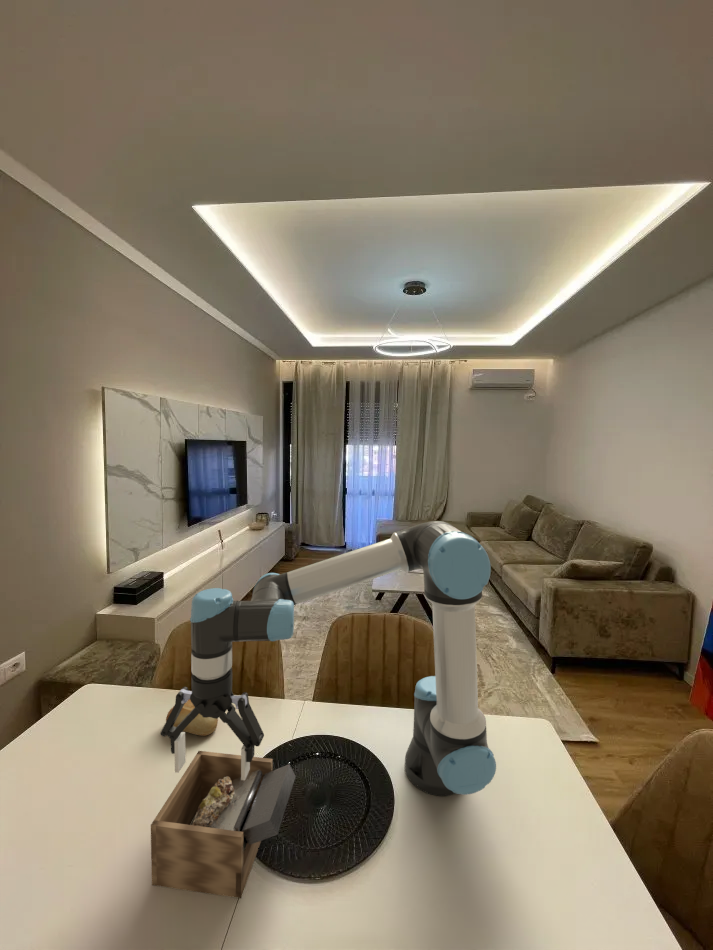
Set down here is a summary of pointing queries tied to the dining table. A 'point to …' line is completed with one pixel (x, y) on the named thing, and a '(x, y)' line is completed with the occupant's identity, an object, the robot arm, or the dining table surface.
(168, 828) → the wooden box
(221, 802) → the mineral rock
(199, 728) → the bread roll
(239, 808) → the trapdoor
